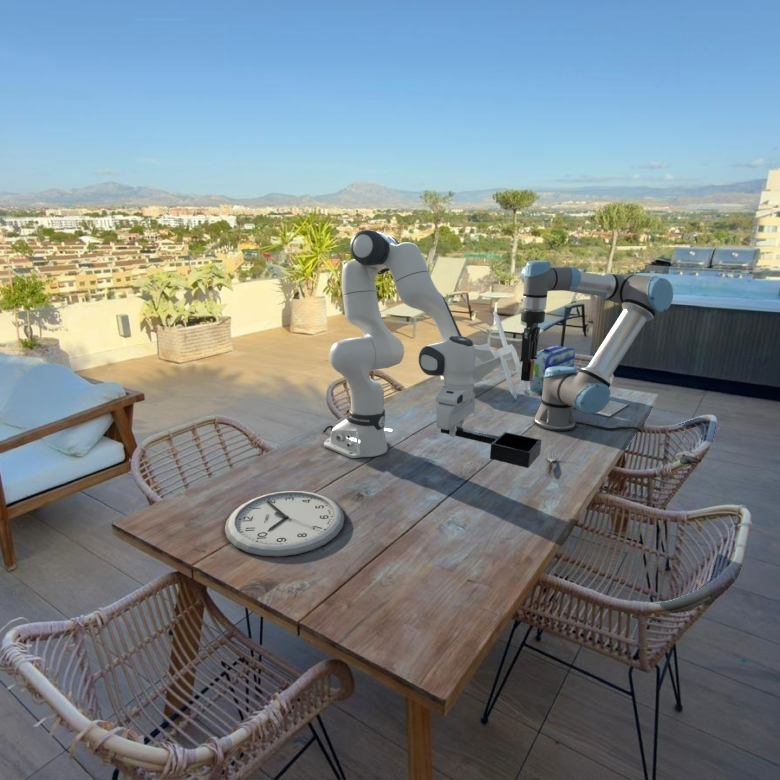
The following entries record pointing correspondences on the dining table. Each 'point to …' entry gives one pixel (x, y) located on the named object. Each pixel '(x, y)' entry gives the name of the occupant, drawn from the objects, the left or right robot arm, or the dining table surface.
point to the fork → (551, 460)
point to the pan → (505, 446)
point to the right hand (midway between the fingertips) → (526, 379)
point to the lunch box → (550, 364)
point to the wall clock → (284, 523)
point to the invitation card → (611, 408)
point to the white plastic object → (497, 360)
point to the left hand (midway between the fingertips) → (455, 434)
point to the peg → (531, 370)
